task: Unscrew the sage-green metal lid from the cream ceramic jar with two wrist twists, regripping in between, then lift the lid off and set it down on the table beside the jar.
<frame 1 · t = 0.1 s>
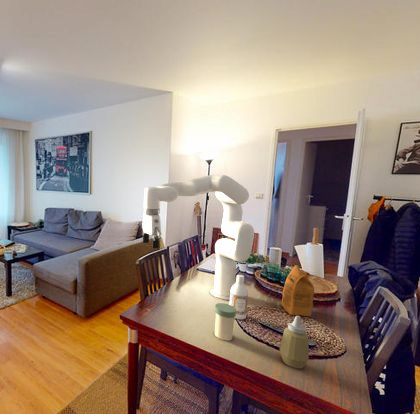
hand: (150, 245, 138), 31 cm above the table, tool pointing down, fingers open, 9 cm apart
coffee package: (295, 311, 133), on the table
lid: (225, 308, 112), point 12 cm above the table, screwed on, not yet turned
jar: (223, 335, 114), on the table
bath foam: (237, 316, 129), on the table
squeeze bottle: (292, 363, 98), on the table
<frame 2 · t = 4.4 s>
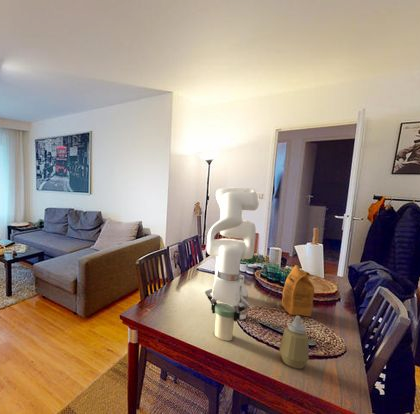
hand: (224, 315, 113), 9 cm above the table, tool pointing down, fingers closed on lid, 7 cm apart
lid: (225, 308, 112), point 12 cm above the table, screwed on, not yet turned, touching gripper
everything else where it was.
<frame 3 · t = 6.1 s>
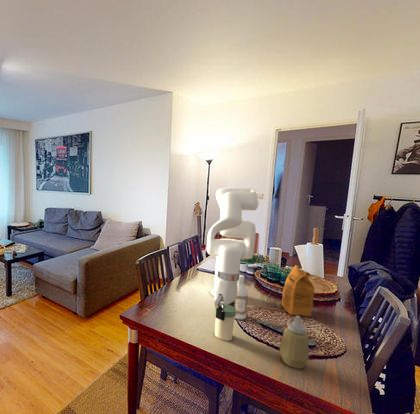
hand: (224, 315, 113), 9 cm above the table, tool pointing down, fingers closed on lid, 7 cm apart
lid: (225, 308, 112), point 12 cm above the table, turned 84° so far, risen 0.1 cm, still on its thread, touching gripper
everything else where it was.
when the fingers open (9 cm above the table, at t = 7.9 s): lid stays where it is, point 12 cm above the table.
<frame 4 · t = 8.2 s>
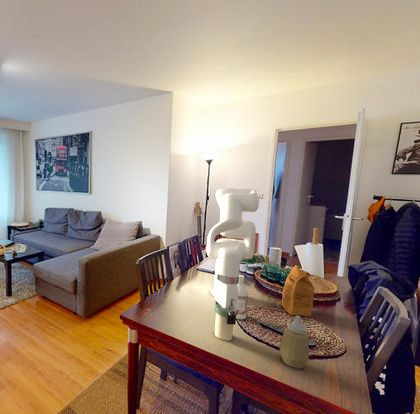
hand: (224, 317, 113), 8 cm above the table, tool pointing down, fingers open, 9 cm apart
lid: (225, 308, 112), point 12 cm above the table, turned 134° so far, risen 0.1 cm, still on its thread
everything else where it was.
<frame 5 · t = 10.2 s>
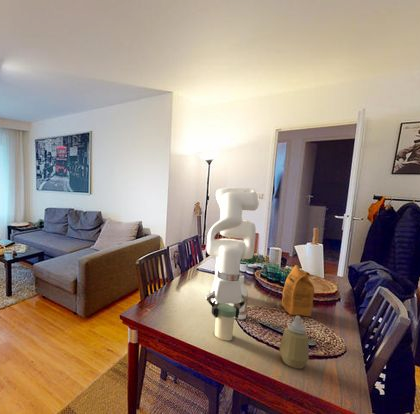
hand: (224, 316, 113), 9 cm above the table, tool pointing down, fingers closed on lid, 7 cm apart
lid: (225, 308, 112), point 12 cm above the table, turned 134° so far, risen 0.1 cm, still on its thread, touching gripper
everything else where it was.
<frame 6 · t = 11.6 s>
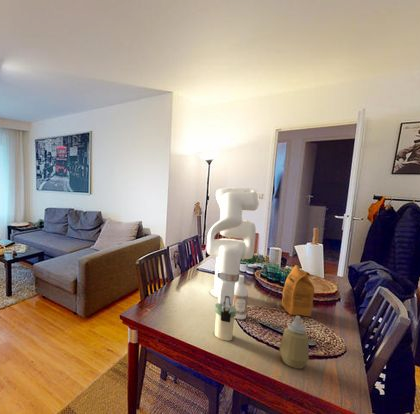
hand: (224, 316, 113), 9 cm above the table, tool pointing down, fingers closed on lid, 7 cm apart
lid: (225, 308, 112), point 12 cm above the table, off its thread, touching gripper
everything else where it was.
when the fingers open (0 cm above the table, at t = 19.8 s): lid drops 2 cm, point 2 cm above the table.
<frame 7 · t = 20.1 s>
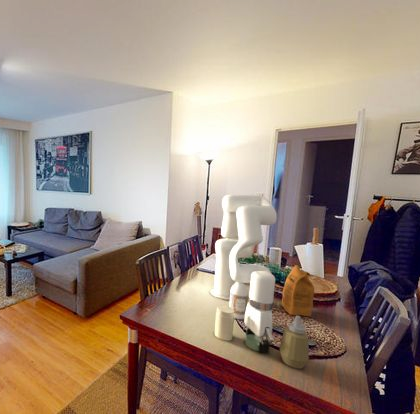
hand: (256, 345, 108), 0 cm above the table, tool pointing down, fingers open, 7 cm apart
lid: (256, 341, 108), point 2 cm above the table, off its thread, touching gripper
everything else where it was.
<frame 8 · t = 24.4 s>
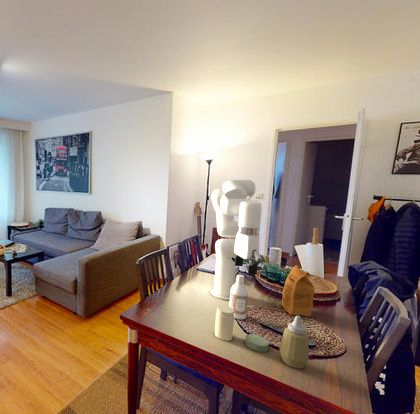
hand: (245, 269, 117), 26 cm above the table, tool pointing down, fingers open, 9 cm apart
lid: (256, 341, 108), point 2 cm above the table, off its thread
everything else where it was.
at the end: lid inside the target area (0.1 cm from its centre), point 1.9 cm above the table; the gripper is holding nothing; jar tilted 0° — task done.
